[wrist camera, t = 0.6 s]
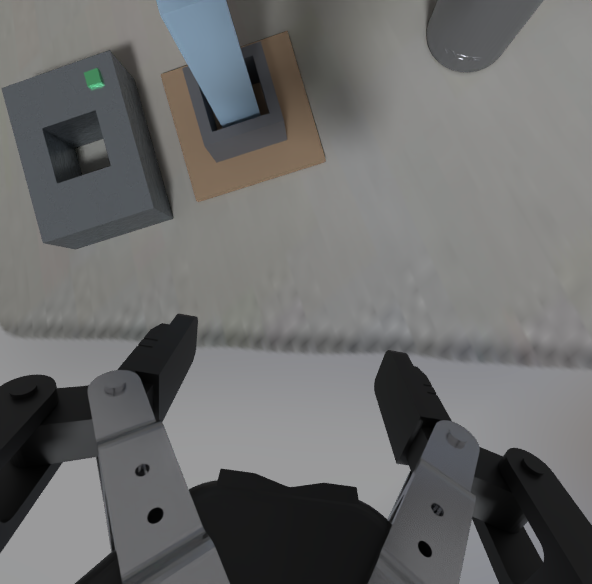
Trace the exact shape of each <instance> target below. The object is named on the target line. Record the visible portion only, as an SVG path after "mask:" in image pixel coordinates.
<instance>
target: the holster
mask: <svg viewBox="0 0 592 584" xmlns="http://www.w3.org/2000/svg"><path fill="white" fill-rule="evenodd" d="M240 48H241V51H242V54H243V58H244V61H245V64H246V68H247V71H248V74H249V78H250V81H251V84H252V88H253V91H254V94H255V98H256V101H257V105H258V108H259V111H260V115H261V116H259V117H256V118H253V119H250V120H247V121H244V122H241V123H238V124H235V125H232V126H229V127H226V128H222V126H221V124H220V122H219V120H218V119H217V117H216V115H215V113H214V111H213V110H212V108H211V106H210V104H209V102H208V101H207V99H206V97H205V95H204V93H203V91H202V90H201V88H200V86H199V84H198V82H197V81H196V79H195V77H194V75H193V73H192V72H191V70H190V68H189V66H188V65H187V66H184V67H181V68H178V69H175V70H172V71H169V72H166V73H163V74H161V78H162V81H163V85H164V88H165V92H166V95H167V99H168V102H169V106H170V109H171V113H172V117H173V120H174V124H175V127H176V131H177V134H178V138H179V141H180V145H181V148H182V152H183V155H184V159H185V162H186V166H187V169H188V173H189V176H190V180H191V184H192V187H193V191H194V194H195V198H196V201H198V202H200V201H203V200H206V199H210V198H213V197H216V196H219V195H222V194H225V193H229V192H232V191H235V190H238V189H241V188H244V187H248V186H251V185H254V184H257V183H260V182H263V181H267V180H270V179H273V178H276V177H279V176H282V175H286V174H289V173H292V172H295V171H298V170H301V169H305V168H308V167H311V166H314V165H317V164H320V163H324V162H325V161H326V159H325V156H324V152H323V149H322V146H321V142H320V139H319V136H318V132H317V129H316V126H315V122H314V119H313V115H312V112H311V109H310V105H309V102H308V99H307V95H306V92H305V88H304V85H303V82H302V78H301V75H300V72H299V68H298V65H297V62H296V58H295V55H294V51H293V48H292V45H291V41H290V38H289V35H288V31H285V32H282V33H279V34H277V35H274V36H271V37H268V38H265V39H262V40H259V41H256V42H253V43H250V44H248V45H245V46H242V47H240Z"/></svg>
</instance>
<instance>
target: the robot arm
mask: <svg viewBox="0 0 592 584" xmlns="http://www.w3.org/2000/svg"><path fill="white" fill-rule="evenodd" d="M543 1H544V0H438V1H437V3H436V6H435V8H434V11H433V13H432V16H431V18H430V20H429V23H428V28H427V42H428V46H429V49H430V51H431V52H432V54H433V56H434V57H435V58H436V59H437V61H438V62H440V63H441V64H442V65H444V66H445V67H447V68H449V69H451V70H454V71H459V72H473V71H479V70H481V69H483V68H486V67H488V66H489V65H491V64H492V63H494V62H495V61H496V60H497V59H498V58H499V57H500V56H501V54H502V53H503V52H504V51H505V49H506V48H507V47H508V45H509V44H510V43H511V42H512V40H513V39H514V38H515V36H516V35H517V34H518V33H519V31H520V30H521V29H522V27H523V26H524V25H525V24H526V22H527V21H528V20H529V19H530V17H531V16H532V15H533V13H534V12H535V11H536V10H537V8H538V7H539V6H540V4H541V3H542V2H543ZM197 326H198V318H197V317H195V316H190V315H184V314H177V315H176V317H175V318H174V319H173V321H172V322H171V323H170V325H169V324H163V323H162V324H160V325H158V326H156V327H154V328H153V329H151V330H150V331H149V332H148V334H147V335H146V336H145V337H144V339H143V340H142V341H141V342H140V343H139V345H138V346H137V347H136V348H135V349H134V350H133V352H132V353H131V354H130V355H129V356H128V358H127V359H126V360H125V361H124V362H123V364H122V365H121V366H120V367H119V369H118V370H116V371H110V372H107V373H104V374H102V375H100V376H98V377H97V378H95V379H94V380H93V381H92V382H91V384H90V385H88V386H80V387H67V388H57V387H56V383H55V381H54V379H52V378H51V377H48V376H45V375H29V376H23V377H20V378H16V379H14V380H11V381H9V382H7V383H5V384H3V385H2V386H0V552H1V551H2V550H3V548H4V547H5V546H6V544H7V543H8V541H9V540H10V538H11V537H12V535H13V534H14V532H15V531H16V529H17V528H18V527H19V525H20V524H21V522H22V521H23V519H24V518H25V516H26V515H27V514H28V512H29V510H30V509H31V508H32V506H33V505H34V503H35V502H36V500H37V499H38V497H39V496H40V494H41V493H42V492H43V490H44V489H45V487H46V486H47V484H48V483H49V481H50V480H51V479H52V477H53V476H54V474H55V472H56V471H57V470H58V468H59V467H60V465H61V464H62V463H63V462H65V461H73V460H79V459H85V458H92V457H96V460H97V466H98V471H99V478H100V483H101V490H102V495H103V501H104V507H105V514H106V520H107V527H108V533H109V540H110V546H111V553H110V554H109V555H108V556H107V557H105V558H104V559H103V560H102V561H101V562H100V563H98V564H97V565H96V566H95V567H94V568H93V569H91V570H90V571H89V572H88V573H87V574H86V575H84V576H83V577H82V578H81V579H80V580H79V581H77V582H76V583H75V584H459V580H460V575H461V570H462V565H463V560H464V555H465V550H466V545H467V540H468V536H469V530H470V526H471V520H473V522H474V524H475V526H476V529H477V532H478V534H479V536H480V539H481V541H482V543H483V546H484V548H485V550H486V553H487V555H488V558H489V560H490V563H491V565H492V567H493V570H494V572H495V575H496V577H497V579H498V582H499V584H592V525H591V524H590V522H589V521H588V520H587V518H586V517H585V516H584V514H583V513H582V511H581V510H580V509H579V507H578V506H577V505H576V503H575V502H574V501H573V499H572V498H571V496H570V495H569V494H568V492H567V491H566V490H565V488H564V487H563V486H562V484H561V483H560V481H559V480H558V479H557V477H556V476H555V475H554V473H553V472H552V471H551V469H550V468H549V467H548V466H547V465H546V464H545V463H544V462H542V461H541V460H540V459H539V458H537V457H536V456H534V455H533V454H531V453H529V452H527V451H525V450H522V449H518V448H510V449H509V450H507V452H506V453H505V455H504V456H500V455H498V454H495V453H493V452H490V451H488V450H486V449H483V448H481V447H479V444H478V442H477V440H476V439H475V437H474V436H473V435H472V434H471V433H470V432H469V431H467V430H466V429H465V428H464V427H462V426H461V425H459V424H457V423H455V422H452V421H451V419H450V417H449V415H448V414H447V412H446V410H445V408H444V407H443V405H442V403H441V401H440V399H439V398H438V396H437V395H436V392H435V390H434V388H433V387H432V385H431V383H430V382H429V380H428V378H427V376H426V375H425V374H424V373H422V371H421V370H420V369H419V368H418V367H415V366H413V364H412V362H411V360H410V358H409V356H408V355H407V354H406V353H403V352H397V351H391V350H388V351H387V352H386V353H385V355H384V358H383V360H382V363H381V365H380V368H379V371H378V373H377V376H376V378H375V383H374V391H375V395H376V398H377V401H378V405H379V408H380V411H381V414H382V418H383V421H384V424H385V427H386V431H387V434H388V437H389V440H390V444H391V447H392V450H393V453H394V457H395V460H396V463H397V464H404V465H409V467H410V469H411V471H410V473H409V475H408V476H407V478H406V481H405V483H404V485H403V487H402V489H401V491H400V494H399V496H398V498H397V500H396V502H395V505H394V506H393V509H392V511H391V513H390V515H389V517H388V519H386V518H385V517H384V516H383V515H381V514H380V513H379V512H378V511H377V510H375V509H374V508H372V507H371V506H369V505H367V504H366V503H364V502H362V501H360V500H358V494H357V488H356V487H351V486H344V485H336V484H329V483H319V484H312V485H304V486H297V487H287V486H284V485H282V484H279V483H277V482H275V481H272V480H270V479H267V478H265V477H263V476H260V475H258V474H255V473H249V472H242V471H234V470H227V469H221V470H220V474H219V478H218V480H217V481H211V482H207V483H203V484H200V485H198V486H195V487H193V488H191V489H189V490H188V487H187V485H186V482H185V479H184V477H183V474H182V472H181V469H180V466H179V464H178V461H177V459H176V456H175V454H174V451H173V449H172V446H171V443H170V441H169V438H168V435H167V433H166V430H165V428H164V425H163V423H162V421H163V420H164V418H165V416H166V413H167V412H168V410H169V407H170V406H171V404H172V402H173V400H174V398H175V396H176V394H177V391H178V390H179V388H180V386H181V384H182V382H183V380H184V378H185V376H186V374H187V372H188V370H189V368H190V366H191V364H192V362H193V359H194V356H195V352H196V341H197ZM527 522H529V523H530V525H531V527H532V529H533V531H534V532H535V534H536V536H537V538H538V539H539V541H540V543H541V545H542V547H543V552H544V562H543V561H542V560H541V558H540V556H539V554H538V553H537V551H536V549H535V547H534V545H533V543H532V542H531V540H530V538H529V536H528V534H527V533H526V530H525V529H524V527H523V526H524V525H525V524H526V523H527Z"/></svg>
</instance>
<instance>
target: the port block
mask: <svg viewBox="0 0 592 584" xmlns="http://www.w3.org/2000/svg"><path fill="white" fill-rule="evenodd" d="M2 92H3V95H4V99H5V103H6V107H7V110H8V114H9V118H10V122H11V125H12V129H13V133H14V136H15V140H16V144H17V148H18V151H19V155H20V159H21V163H22V166H23V170H24V174H25V178H26V181H27V185H28V189H29V192H30V196H31V200H32V204H33V207H34V211H35V215H36V219H37V222H38V226H39V230H40V234H41V237H42V241H43V243H45V244H50V245H56V246H61V247H66V248H71V249H78V248H81V247H84V246H88V245H91V244H94V243H97V242H100V241H103V240H107V239H110V238H113V237H116V236H119V235H123V234H126V233H129V232H132V231H135V230H138V229H142V228H145V227H148V226H151V225H154V224H158V223H161V222H164V221H167V220H170V219H173V216H172V212H171V209H170V205H169V201H168V198H167V194H166V191H165V187H164V184H163V180H162V177H161V173H160V169H159V166H158V162H157V159H156V155H155V152H154V148H153V144H152V141H151V137H150V134H149V130H148V127H147V123H146V120H145V116H144V112H143V109H142V105H141V102H140V98H139V95H138V91H137V88H136V84H135V80H134V79H133V77H132V76H131V75H130V74H129V73H128V71H127V70H126V69H125V68H124V67H123V66H122V64H121V63H120V62H119V61H118V60H117V58H116V57H115V56H114V55H113V54H112V52H111V51H110V50H109V51H106V52H103V53H100V54H97V55H94V56H92V57H89V58H86V59H83V60H80V61H77V62H75V63H72V64H69V65H66V66H63V67H60V68H58V69H55V70H52V71H49V72H46V73H43V74H41V75H38V76H35V77H32V78H29V79H26V80H24V81H21V82H18V83H15V84H12V85H9V86H7V87H4V88H2ZM100 139H104V142H105V146H106V150H107V153H108V157H109V160H110V164H111V166H109V167H106V168H103V169H100V170H97V171H94V172H91V173H88V174H85V175H82V174H81V170H80V167H79V163H78V159H77V156H76V152H75V148H76V147H79V146H82V145H85V144H88V143H91V142H94V141H97V140H100Z"/></svg>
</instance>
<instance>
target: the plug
mask: <svg viewBox="0 0 592 584" xmlns="http://www.w3.org/2000/svg"><path fill="white" fill-rule="evenodd" d="M156 2H157V5H158V9H159V12H160V15H161V17H162V19H163V21H164V23H165V24H166V26H167V28H168V30H169V32H170V34H171V35H172V37H173V39H174V41H175V43H176V44H177V46H178V48H179V50H180V52H181V53H182V55H183V57H184V59H185V61H186V63H187V64H188V66H189V68H190V70H191V72H192V73H193V75H194V77H195V79H196V81H197V82H198V84H199V86H200V88H201V90H202V91H203V93H204V95H205V97H206V99H207V101H208V102H209V104H210V106H211V108H212V110H213V111H214V113H215V115H216V117H217V119H218V120H219V122H220V124H221V126H222V128H226V127H229V126H232V125H235V124H238V123H241V122H244V121H247V120H250V119H253V118H256V117H259V116H261V115H260V111H259V108H258V105H257V101H256V98H255V94H254V91H253V88H252V84H251V81H250V78H249V74H248V71H247V68H246V64H245V61H244V58H243V54H242V51H241V48H240V44H239V41H238V38H237V34H236V31H235V28H234V25H233V21H232V18H231V15H230V11H229V8H228V5H227V1H226V0H156Z"/></svg>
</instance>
